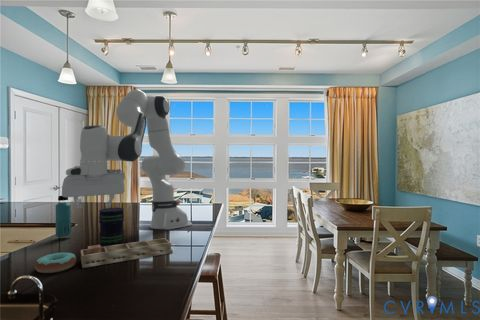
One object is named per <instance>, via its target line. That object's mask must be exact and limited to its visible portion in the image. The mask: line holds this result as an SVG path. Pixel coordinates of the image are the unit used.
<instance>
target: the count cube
mask: <svg viewBox="0 0 480 320" xmlns="http://www.w3.org/2000/svg"><path fill="white" fill-rule="evenodd" d="M87 249H88V254H95V253H101V246H100V244H96V245H87Z"/></svg>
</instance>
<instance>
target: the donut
mask: <svg viewBox="0 0 480 320" xmlns="http://www.w3.org/2000/svg"><path fill="white" fill-rule="evenodd" d="M76 262H77V257H76V255H75V253H72V252H56V253H50V254H46V255H44V256H41V257H39V258H38V259H37V260H36V262H35V263H34V269H35V270H36V272H38V273H42V274H54V273H60V272H64V271H67V270H69V269H71V268H73V267H74V266H75V265H76Z"/></svg>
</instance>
